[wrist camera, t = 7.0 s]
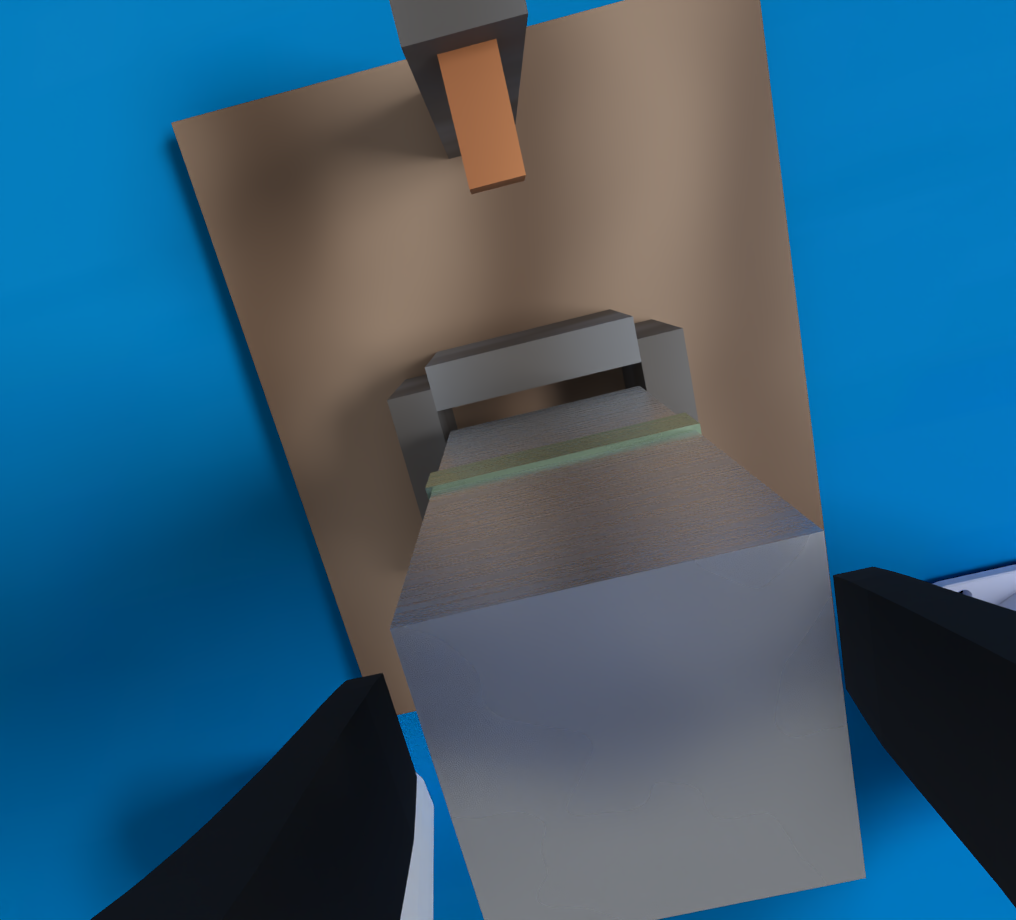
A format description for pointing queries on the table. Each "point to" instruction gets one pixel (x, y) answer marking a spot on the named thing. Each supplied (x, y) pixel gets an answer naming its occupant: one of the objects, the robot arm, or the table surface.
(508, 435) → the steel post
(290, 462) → the stand
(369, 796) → the robot arm
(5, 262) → the table surface
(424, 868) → the shot glass
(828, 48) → the table surface
